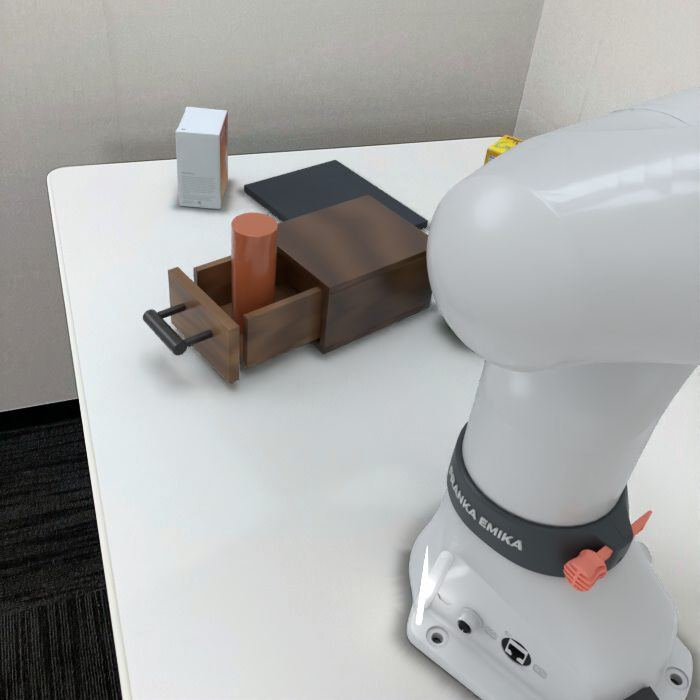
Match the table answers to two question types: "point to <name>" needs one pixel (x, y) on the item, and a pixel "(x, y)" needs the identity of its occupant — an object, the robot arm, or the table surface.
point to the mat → (321, 192)
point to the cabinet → (359, 267)
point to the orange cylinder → (252, 263)
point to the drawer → (222, 331)
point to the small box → (202, 157)
